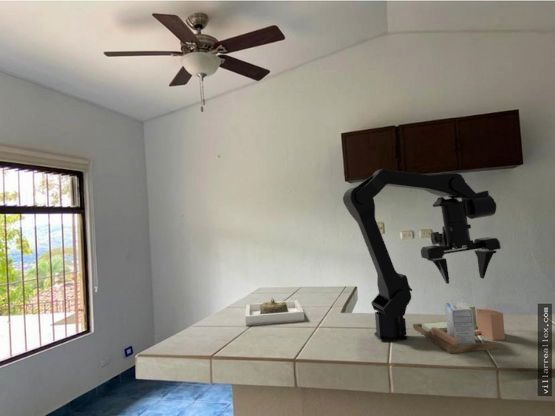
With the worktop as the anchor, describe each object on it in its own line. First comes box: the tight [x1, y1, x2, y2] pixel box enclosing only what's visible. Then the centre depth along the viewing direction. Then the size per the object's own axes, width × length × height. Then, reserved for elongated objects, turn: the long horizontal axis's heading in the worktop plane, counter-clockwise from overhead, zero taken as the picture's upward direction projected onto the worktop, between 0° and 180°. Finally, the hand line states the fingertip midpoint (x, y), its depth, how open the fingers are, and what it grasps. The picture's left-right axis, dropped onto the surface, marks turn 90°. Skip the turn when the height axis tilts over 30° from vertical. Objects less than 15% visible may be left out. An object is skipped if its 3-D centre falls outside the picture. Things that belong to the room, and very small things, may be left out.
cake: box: [260, 298, 289, 314], centre depth 131 cm, size 10×10×5 cm
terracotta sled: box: [431, 307, 506, 346], centre depth 94 cm, size 15×10×6 cm
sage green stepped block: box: [421, 302, 478, 331], centre depth 103 cm, size 12×5×6 cm, turn 93°
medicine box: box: [444, 301, 477, 345], centre depth 93 cm, size 8×4×9 cm, turn 168°
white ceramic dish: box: [244, 299, 305, 327], centre depth 131 cm, size 18×18×3 cm
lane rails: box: [412, 320, 498, 354], centre depth 97 cm, size 11×20×1 cm, turn 3°
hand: (464, 280), depth 103 cm, fingers open, 9 cm apart
